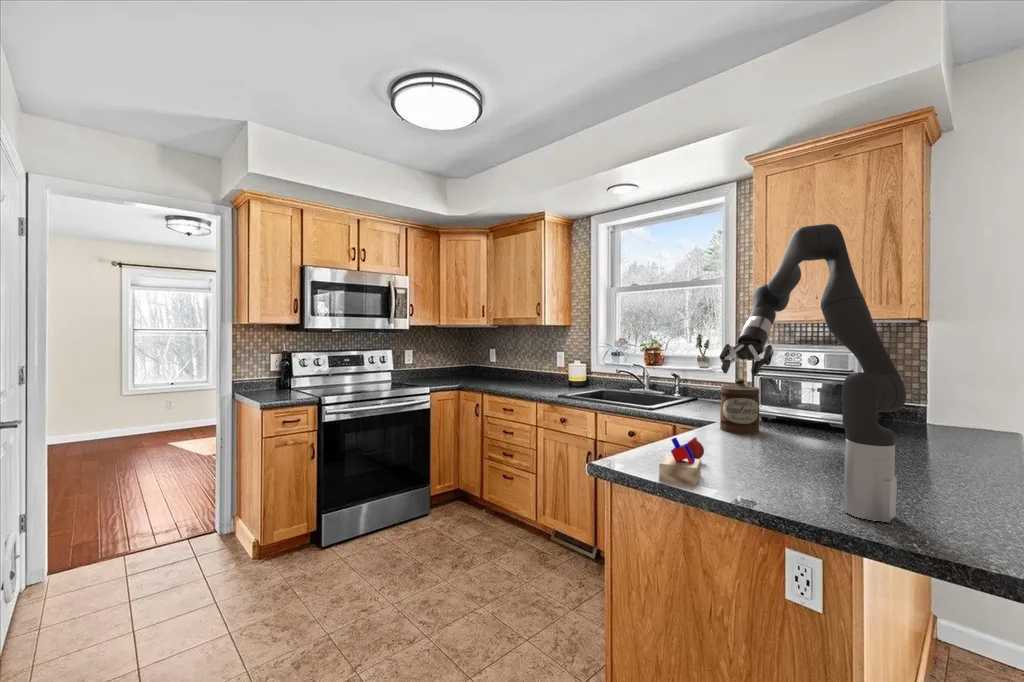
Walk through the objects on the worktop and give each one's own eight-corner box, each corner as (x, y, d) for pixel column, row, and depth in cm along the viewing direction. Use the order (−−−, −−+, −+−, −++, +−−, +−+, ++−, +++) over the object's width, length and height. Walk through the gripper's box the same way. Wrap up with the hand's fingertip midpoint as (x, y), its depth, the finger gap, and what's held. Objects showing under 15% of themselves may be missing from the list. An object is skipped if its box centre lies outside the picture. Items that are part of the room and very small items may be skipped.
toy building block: (681, 464, 143) (669, 439, 144) (695, 460, 140) (682, 434, 142) (678, 467, 140) (666, 441, 141) (692, 463, 138) (679, 436, 139)
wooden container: (722, 432, 200) (723, 379, 199) (718, 425, 214) (719, 375, 213) (762, 435, 195) (763, 380, 195) (755, 427, 210) (756, 376, 209)
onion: (691, 464, 153) (692, 439, 153) (680, 460, 159) (681, 435, 159) (707, 463, 155) (707, 438, 155) (696, 458, 160) (696, 434, 160)
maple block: (700, 476, 143) (700, 459, 143) (696, 486, 134) (696, 468, 134) (665, 471, 148) (665, 455, 148) (659, 480, 139) (659, 463, 139)
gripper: (728, 325, 155) (710, 362, 147) (776, 324, 144) (759, 365, 137) (736, 341, 158) (719, 379, 151) (783, 342, 148) (767, 382, 140)
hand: (738, 372), depth 144 cm, fingers open, 8 cm apart
